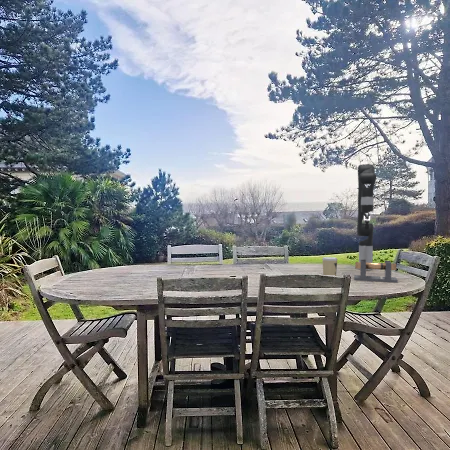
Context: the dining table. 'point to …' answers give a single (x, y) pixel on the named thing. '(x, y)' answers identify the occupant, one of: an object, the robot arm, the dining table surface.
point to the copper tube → (375, 266)
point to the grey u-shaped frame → (375, 278)
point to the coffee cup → (329, 265)
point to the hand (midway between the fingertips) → (366, 229)
